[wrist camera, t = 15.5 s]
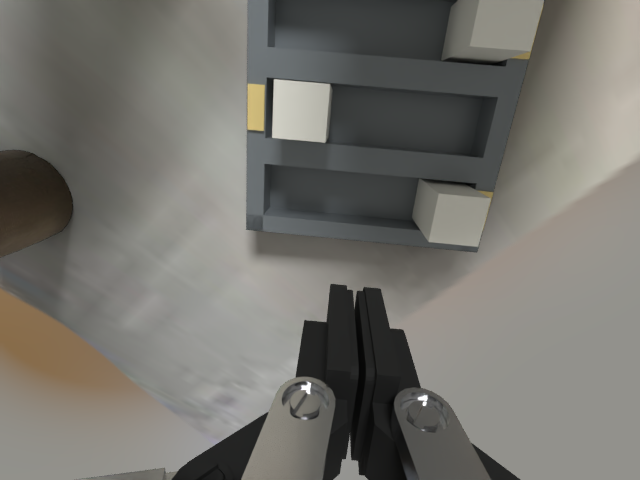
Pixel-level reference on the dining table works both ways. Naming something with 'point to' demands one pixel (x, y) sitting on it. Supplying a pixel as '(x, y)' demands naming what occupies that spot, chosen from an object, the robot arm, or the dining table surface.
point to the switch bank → (370, 117)
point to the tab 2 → (490, 30)
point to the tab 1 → (450, 212)
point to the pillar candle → (30, 201)
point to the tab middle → (301, 110)
